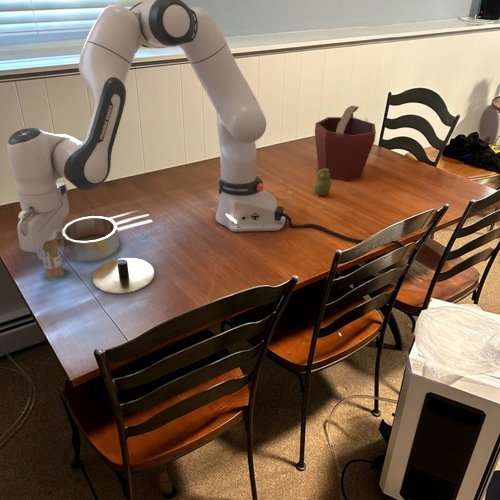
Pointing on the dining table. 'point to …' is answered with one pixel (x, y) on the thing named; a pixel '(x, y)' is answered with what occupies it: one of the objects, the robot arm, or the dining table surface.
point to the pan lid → (123, 276)
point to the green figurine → (323, 182)
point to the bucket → (344, 144)
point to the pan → (95, 247)
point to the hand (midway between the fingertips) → (51, 247)
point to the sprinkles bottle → (52, 257)
